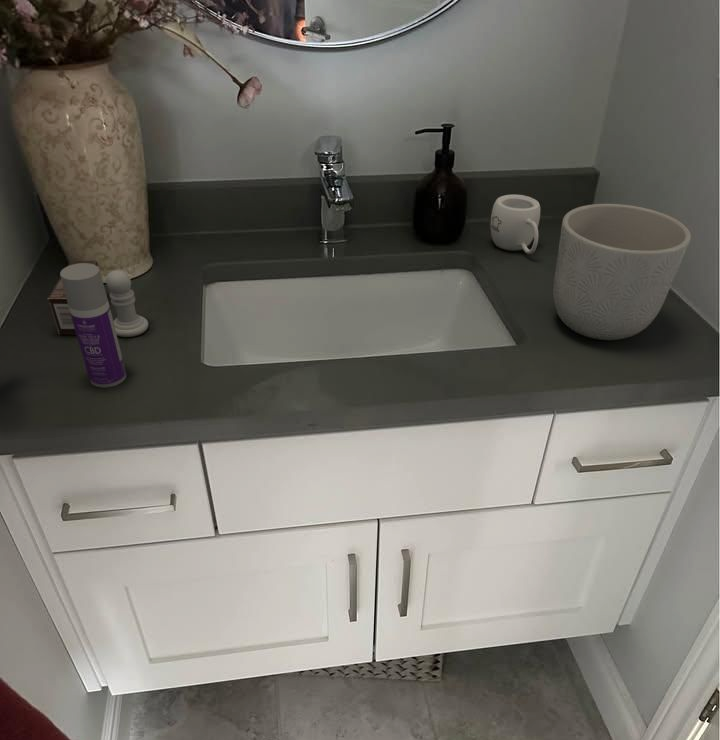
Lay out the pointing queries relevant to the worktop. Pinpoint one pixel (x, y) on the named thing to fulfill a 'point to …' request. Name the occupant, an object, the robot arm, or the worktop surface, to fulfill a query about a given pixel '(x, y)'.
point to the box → (63, 306)
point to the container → (93, 324)
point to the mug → (515, 222)
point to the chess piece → (124, 305)
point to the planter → (615, 268)
